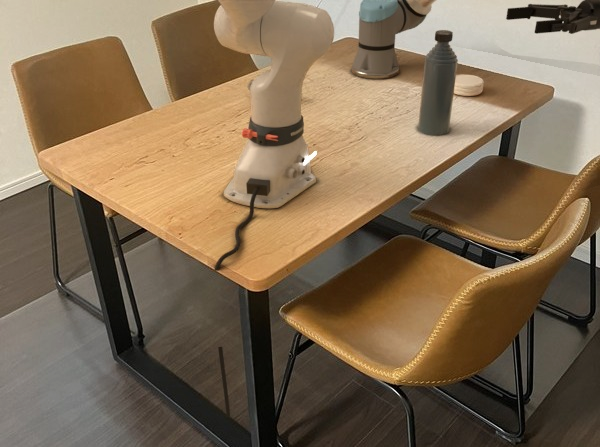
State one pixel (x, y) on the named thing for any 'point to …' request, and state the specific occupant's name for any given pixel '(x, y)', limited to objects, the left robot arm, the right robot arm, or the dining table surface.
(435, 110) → the bottle
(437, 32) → the cap
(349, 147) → the dining table surface
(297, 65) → the left robot arm
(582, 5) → the right robot arm
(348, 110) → the dining table surface
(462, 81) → the cream round disc
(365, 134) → the dining table surface
